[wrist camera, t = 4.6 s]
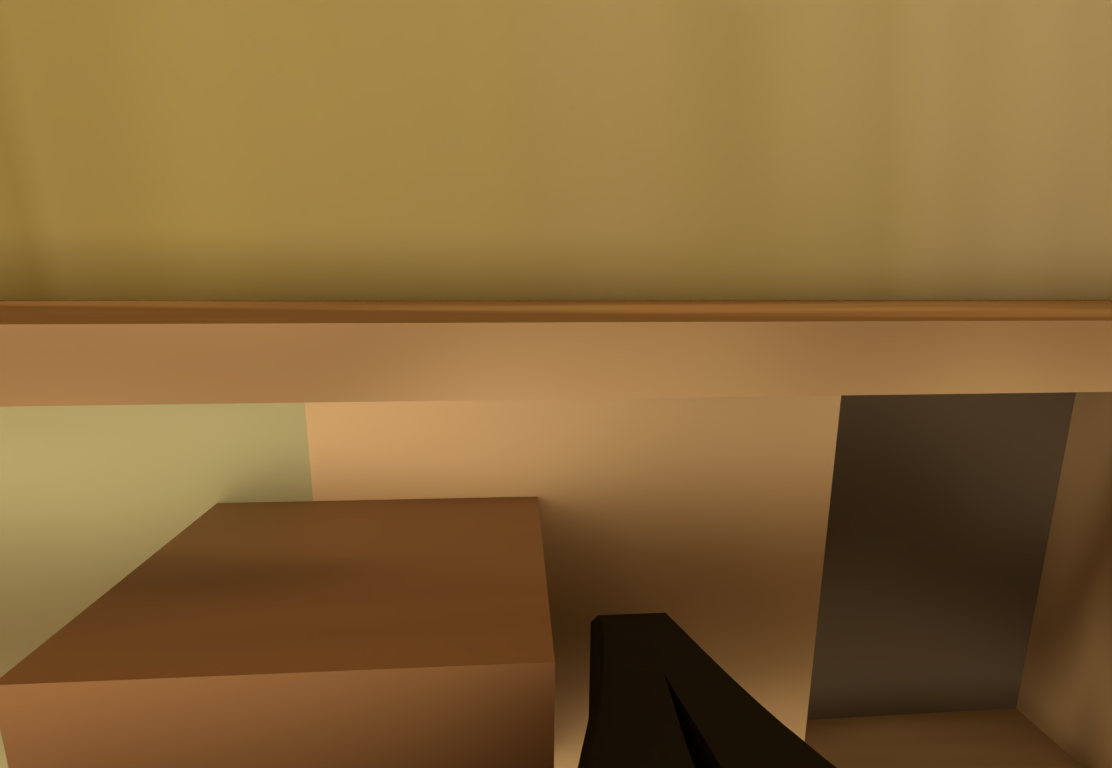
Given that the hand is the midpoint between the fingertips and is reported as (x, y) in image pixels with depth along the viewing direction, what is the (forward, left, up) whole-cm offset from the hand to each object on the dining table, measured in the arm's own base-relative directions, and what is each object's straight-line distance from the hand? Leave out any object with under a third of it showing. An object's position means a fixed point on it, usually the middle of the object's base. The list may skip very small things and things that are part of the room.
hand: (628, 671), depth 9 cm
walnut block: (0, +4, -1) cm, 4 cm away
